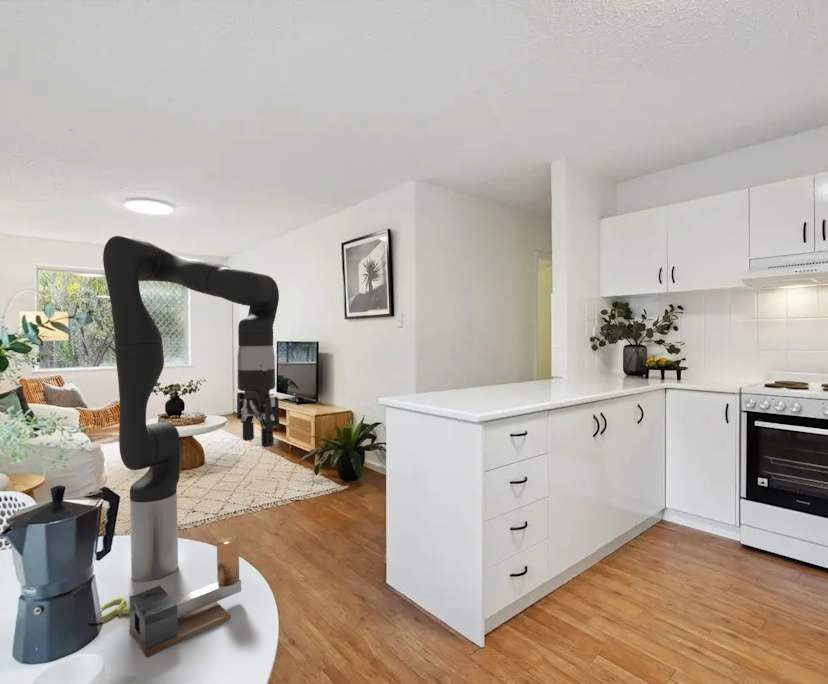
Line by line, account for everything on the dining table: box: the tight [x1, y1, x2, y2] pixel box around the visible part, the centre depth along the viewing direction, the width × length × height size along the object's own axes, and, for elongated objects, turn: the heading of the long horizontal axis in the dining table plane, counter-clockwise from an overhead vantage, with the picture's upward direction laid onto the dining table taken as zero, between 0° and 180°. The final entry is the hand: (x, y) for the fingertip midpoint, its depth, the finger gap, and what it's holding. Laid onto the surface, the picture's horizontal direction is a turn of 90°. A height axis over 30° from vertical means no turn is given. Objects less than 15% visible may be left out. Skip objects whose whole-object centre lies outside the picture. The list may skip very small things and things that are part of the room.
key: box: [100, 597, 130, 623], centre depth 90 cm, size 7×12×2 cm, turn 101°
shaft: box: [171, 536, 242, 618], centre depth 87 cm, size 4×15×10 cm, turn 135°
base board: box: [128, 601, 231, 659], centre depth 85 cm, size 10×14×1 cm
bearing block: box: [129, 585, 177, 650], centre depth 82 cm, size 9×5×6 cm, turn 45°
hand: (257, 443), depth 99 cm, fingers open, 8 cm apart
